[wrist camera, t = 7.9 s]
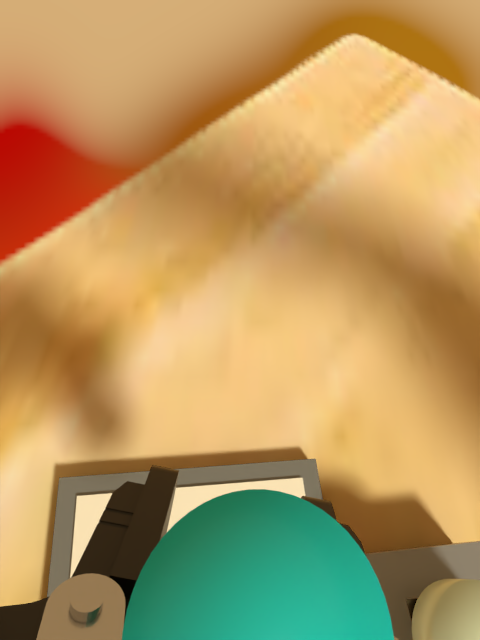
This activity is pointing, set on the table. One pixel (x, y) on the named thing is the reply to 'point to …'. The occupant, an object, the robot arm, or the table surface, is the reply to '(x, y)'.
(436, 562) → the button housing
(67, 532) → the drawing slate
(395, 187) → the table surface
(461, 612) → the button
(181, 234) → the table surface
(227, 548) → the marker
